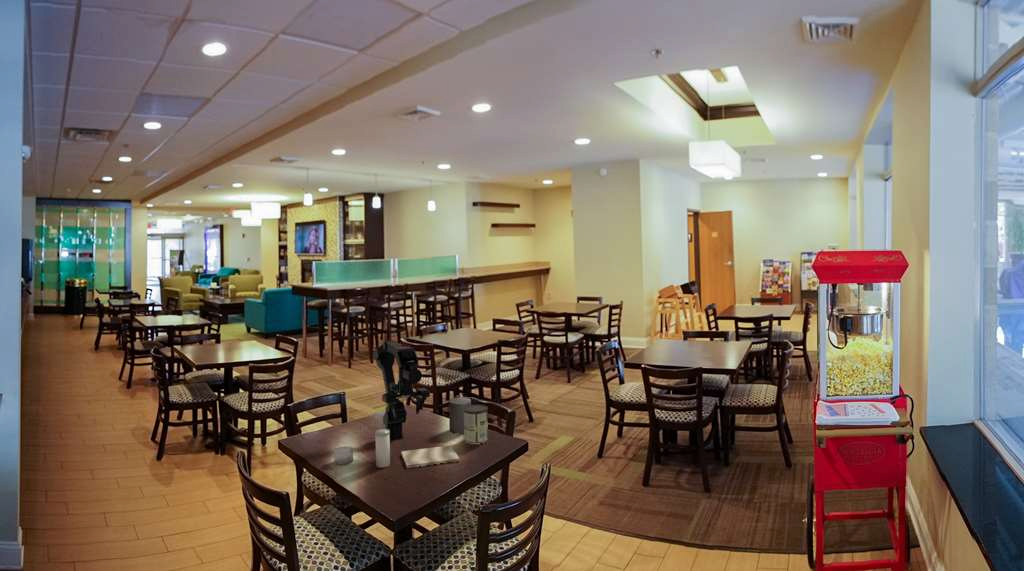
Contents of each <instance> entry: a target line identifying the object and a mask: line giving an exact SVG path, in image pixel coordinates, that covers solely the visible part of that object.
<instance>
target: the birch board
mask: <svg viewBox="0 0 1024 571" xmlns="http://www.w3.org/2000/svg"><path fill="white" fill-rule="evenodd" d="M401 456H402V460H403V459H404V460H403V462H404V464H405V467H406V469H412V468H420V467H419V466H421V467H428V466H427V465H429V466H434V465H433V464H437V465H441V464H440V463H444V464H448V463H447V462H452V463H456V462H455V461H459V462H460V457H459V456H458V454H457V452H456V450H454V448H453V446H452V445H443V446H435V447H426V448H418V449H410V450H402V451H401Z"/></svg>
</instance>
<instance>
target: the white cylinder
mask: <svg viewBox="0 0 1024 571" xmlns="http://www.w3.org/2000/svg"><path fill="white" fill-rule="evenodd" d="M389 434H390V430H388V429H385V428H382V429H381V428H379V429H376V430H375V431H374V436H375V437H374V438H375V439H374V440H375V466H376V467H377V468H381V469H383V468H387V467H390V466H391V443H390V441H391V440H390V436H389Z"/></svg>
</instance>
